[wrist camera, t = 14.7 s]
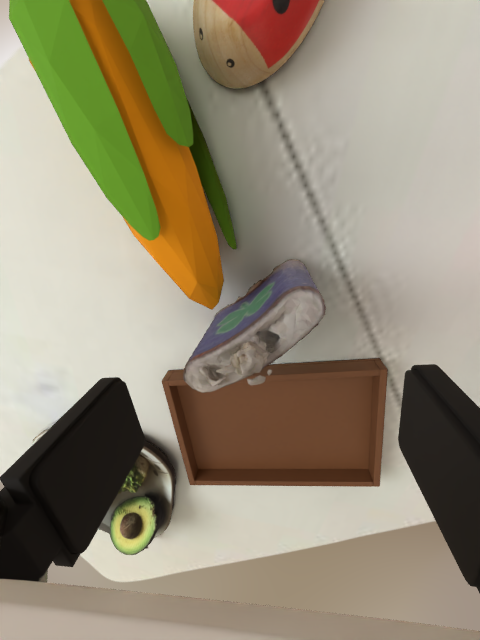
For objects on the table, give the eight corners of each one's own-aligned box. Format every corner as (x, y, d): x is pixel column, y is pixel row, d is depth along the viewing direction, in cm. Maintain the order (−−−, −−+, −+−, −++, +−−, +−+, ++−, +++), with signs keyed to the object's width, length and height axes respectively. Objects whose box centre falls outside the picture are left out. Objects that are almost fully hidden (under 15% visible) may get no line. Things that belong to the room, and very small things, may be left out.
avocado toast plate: (32, 506, 37) (0, 545, 33) (12, 402, 30) (-31, 433, 26) (171, 539, 36) (157, 583, 32) (183, 439, 29) (167, 478, 25)
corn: (29, -233, 9) (262, 308, 15) (144, -42, 16) (271, 275, 22) (-92, -64, 11) (152, 347, 17) (55, 39, 18) (192, 305, 24)
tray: (379, 358, 23) (387, 369, 22) (373, 470, 28) (379, 486, 26) (168, 370, 26) (161, 381, 25) (194, 470, 31) (190, 485, 29)
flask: (294, 251, 21) (314, 287, 11) (316, 280, 22) (352, 340, 12) (206, 318, 24) (159, 394, 14) (228, 342, 25) (197, 432, 15)
